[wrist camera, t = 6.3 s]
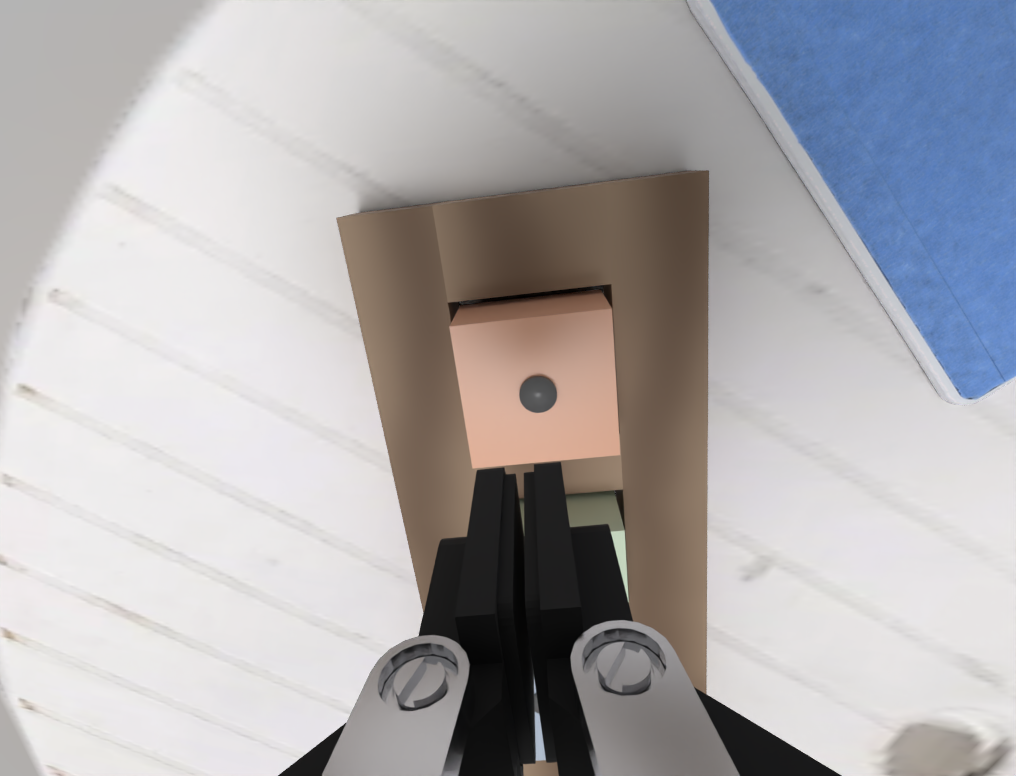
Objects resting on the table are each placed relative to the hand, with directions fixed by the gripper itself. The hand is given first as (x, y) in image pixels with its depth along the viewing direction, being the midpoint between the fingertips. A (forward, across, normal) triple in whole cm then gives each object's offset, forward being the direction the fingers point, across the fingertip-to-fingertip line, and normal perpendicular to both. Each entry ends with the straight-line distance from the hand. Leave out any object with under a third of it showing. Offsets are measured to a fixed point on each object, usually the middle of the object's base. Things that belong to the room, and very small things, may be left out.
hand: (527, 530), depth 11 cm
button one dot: (+10, 0, 0) cm, 10 cm away
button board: (+12, 0, +8) cm, 15 cm away
